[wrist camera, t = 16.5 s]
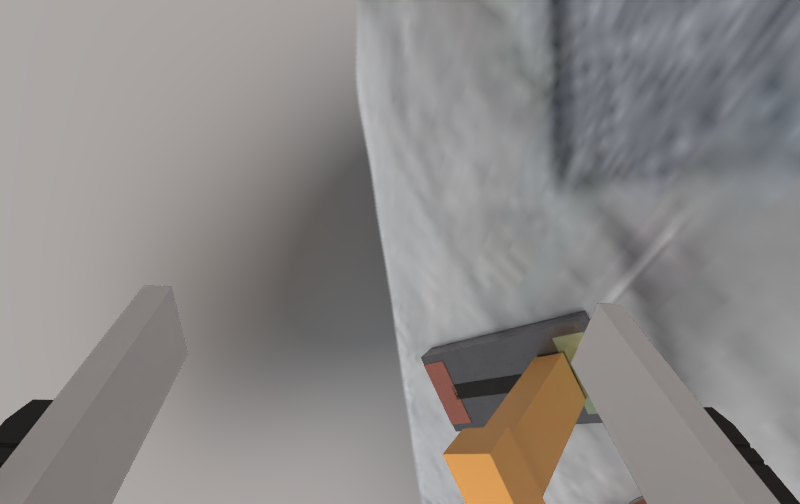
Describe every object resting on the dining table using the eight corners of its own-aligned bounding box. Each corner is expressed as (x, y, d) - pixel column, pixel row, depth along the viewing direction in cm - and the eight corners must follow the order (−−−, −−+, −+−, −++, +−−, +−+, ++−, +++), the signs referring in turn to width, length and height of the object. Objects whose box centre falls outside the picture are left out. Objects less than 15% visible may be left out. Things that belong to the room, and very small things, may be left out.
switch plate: (465, 419, 52) (455, 431, 50) (431, 348, 52) (420, 357, 50) (630, 405, 39) (625, 421, 37) (584, 311, 39) (577, 321, 37)
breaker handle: (555, 413, 41) (485, 545, 29) (525, 349, 41) (442, 454, 29) (595, 409, 38) (537, 553, 26) (563, 341, 38) (489, 453, 26)
